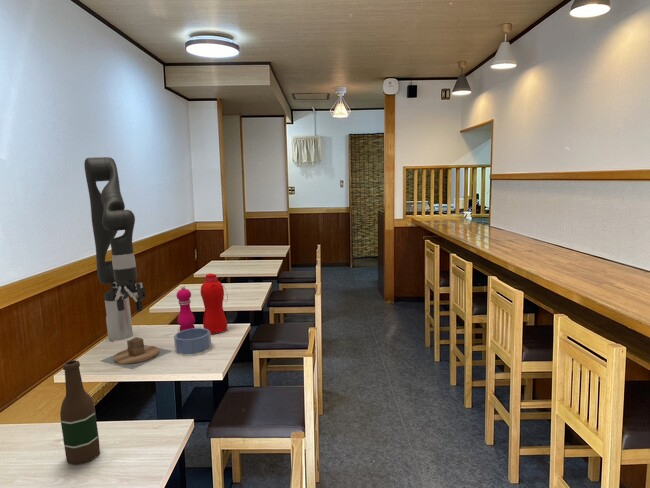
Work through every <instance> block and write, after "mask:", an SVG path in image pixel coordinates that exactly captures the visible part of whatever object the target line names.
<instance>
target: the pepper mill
mask: <svg viewBox="0 0 650 488" xmlns="http://www.w3.org/2000/svg"><path fill="white" fill-rule="evenodd" d="M191 297H192V293H191V290H190V289H188V288H186V286H185V285H181V286H180V289H179V290H178V291H177V292H176V298H177V300H178V301H177V302H178V305H179V315H178V317H177V324H178V326H179V332H181V331H183V330H187V329H192V328H196V327H195V322H196V318H195V315H194V313H193V312H192V310H191V305H190V304H191V303H192V301H191Z"/></svg>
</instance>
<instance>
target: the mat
mask: <svg viewBox="0 0 650 488" xmlns="http://www.w3.org/2000/svg"><path fill="white" fill-rule="evenodd" d="M144 346H148V345H147V344H144ZM158 348H159V354H158V355H157V356H156V357H155V358H153V359H151V360H148V361H145V362H142V363H137V364H128V365H123V364H117V363H115V362H114V359H113V358H114V356H115V355H116V354H114V355H111V356H109V357H106V358H104V359H101V360H100V362H102V363H106V364H110V365H113V366H118V367H120V368H121V367H123V368H126V369H130V370H135V369H136V368H139V367H141V366H143V365H145V364H147V363H150V362H152V361H154V360H156V359H158V358H160V357H163V356H164V355H167V354H169V353H172V352H173V350H171V349H166V348H165V349H164V348H162V347H158Z"/></svg>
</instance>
